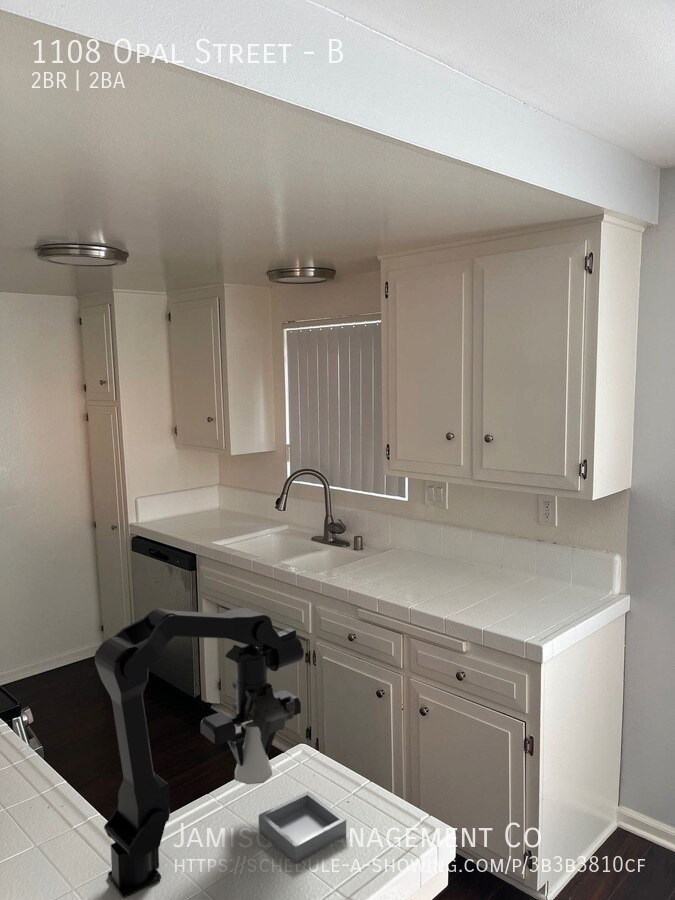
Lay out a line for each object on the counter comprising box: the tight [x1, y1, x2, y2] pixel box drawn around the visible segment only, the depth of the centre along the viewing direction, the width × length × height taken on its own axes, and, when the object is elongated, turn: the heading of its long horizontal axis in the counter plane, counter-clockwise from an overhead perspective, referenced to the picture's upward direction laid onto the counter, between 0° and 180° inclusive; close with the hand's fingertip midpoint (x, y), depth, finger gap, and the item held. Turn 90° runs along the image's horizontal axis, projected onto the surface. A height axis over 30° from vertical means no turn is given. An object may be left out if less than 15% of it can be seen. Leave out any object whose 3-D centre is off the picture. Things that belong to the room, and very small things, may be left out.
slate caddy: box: [258, 791, 347, 865], centre depth 121 cm, size 11×11×3 cm
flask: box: [234, 721, 273, 785], centre depth 126 cm, size 7×7×10 cm
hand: (253, 759), depth 127 cm, fingers closed on flask, 5 cm apart
